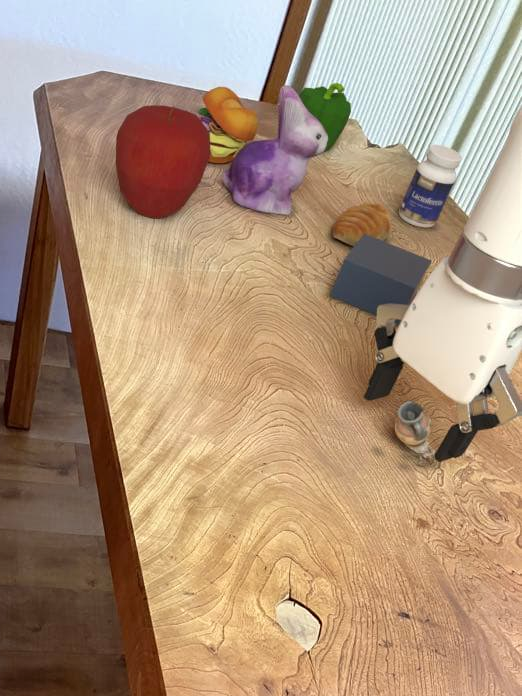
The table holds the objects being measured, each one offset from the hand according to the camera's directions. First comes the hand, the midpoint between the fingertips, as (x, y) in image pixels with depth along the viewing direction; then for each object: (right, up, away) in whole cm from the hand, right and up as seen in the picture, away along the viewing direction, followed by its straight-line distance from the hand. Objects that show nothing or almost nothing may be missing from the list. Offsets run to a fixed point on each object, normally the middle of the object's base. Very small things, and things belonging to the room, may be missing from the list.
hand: (409, 426), depth 87 cm
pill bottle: (+15, +36, +45) cm, 59 cm away
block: (+4, +19, +25) cm, 32 cm away
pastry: (+5, +31, +37) cm, 48 cm away
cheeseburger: (-14, +47, +48) cm, 69 cm away
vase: (0, -2, +3) cm, 3 cm away
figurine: (-8, +36, +39) cm, 54 cm away
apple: (-24, +32, +30) cm, 50 cm away
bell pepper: (+3, +53, +58) cm, 79 cm away
